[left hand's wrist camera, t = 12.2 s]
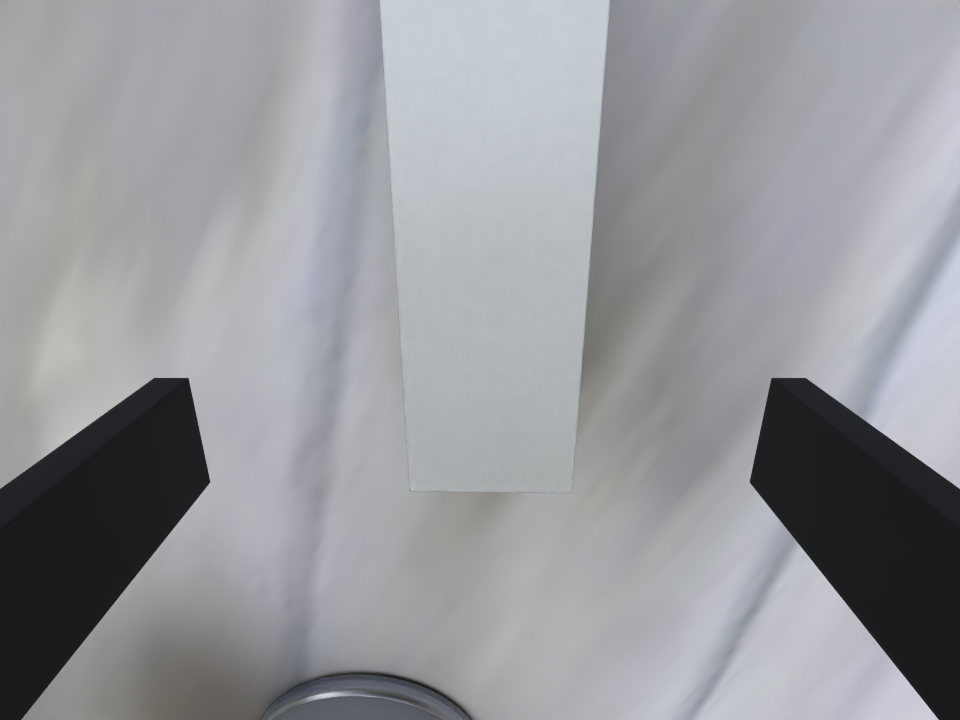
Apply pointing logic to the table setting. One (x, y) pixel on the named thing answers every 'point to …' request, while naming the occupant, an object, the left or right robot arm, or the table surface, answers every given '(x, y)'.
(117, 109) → the table surface
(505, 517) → the table surface
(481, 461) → the bar
